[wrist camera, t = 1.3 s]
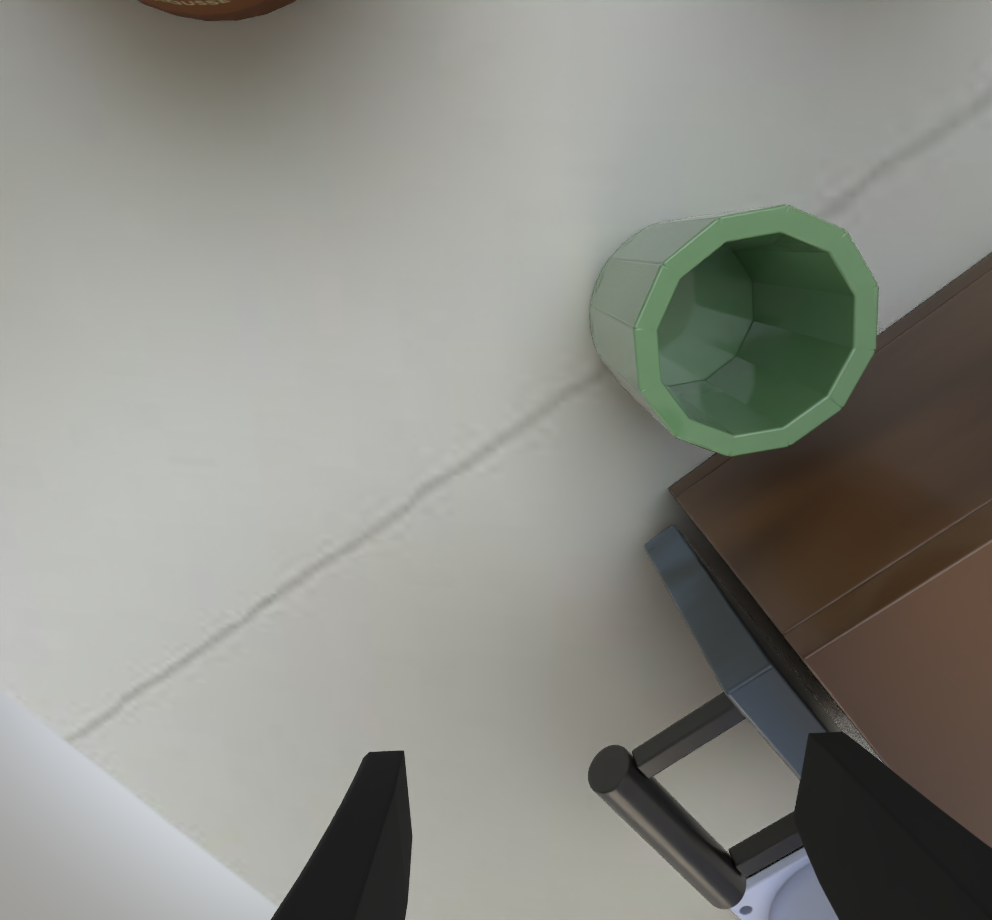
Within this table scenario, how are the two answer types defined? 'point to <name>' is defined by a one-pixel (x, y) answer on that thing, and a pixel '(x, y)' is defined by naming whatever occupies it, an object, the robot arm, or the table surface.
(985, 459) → the cabinet
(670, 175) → the table surface
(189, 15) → the food container
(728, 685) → the drawer
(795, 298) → the pot
